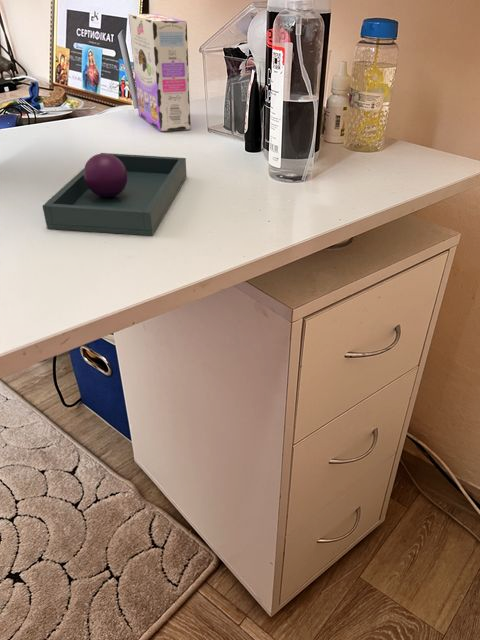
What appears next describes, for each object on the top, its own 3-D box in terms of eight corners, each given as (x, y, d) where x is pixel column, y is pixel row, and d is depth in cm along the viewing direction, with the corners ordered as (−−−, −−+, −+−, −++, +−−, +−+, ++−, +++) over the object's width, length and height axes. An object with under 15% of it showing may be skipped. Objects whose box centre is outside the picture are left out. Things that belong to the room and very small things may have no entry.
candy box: (192, 130, 93) (188, 20, 84) (160, 132, 91) (152, 20, 81) (166, 112, 103) (160, 12, 93) (136, 114, 101) (127, 12, 91)
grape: (108, 213, 64) (71, 187, 61) (114, 189, 67) (79, 163, 64) (133, 188, 62) (96, 160, 59) (138, 164, 65) (103, 136, 62)
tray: (47, 228, 58) (42, 205, 56) (103, 172, 74) (100, 152, 72) (152, 235, 57) (150, 212, 56) (186, 177, 73) (185, 157, 72)
